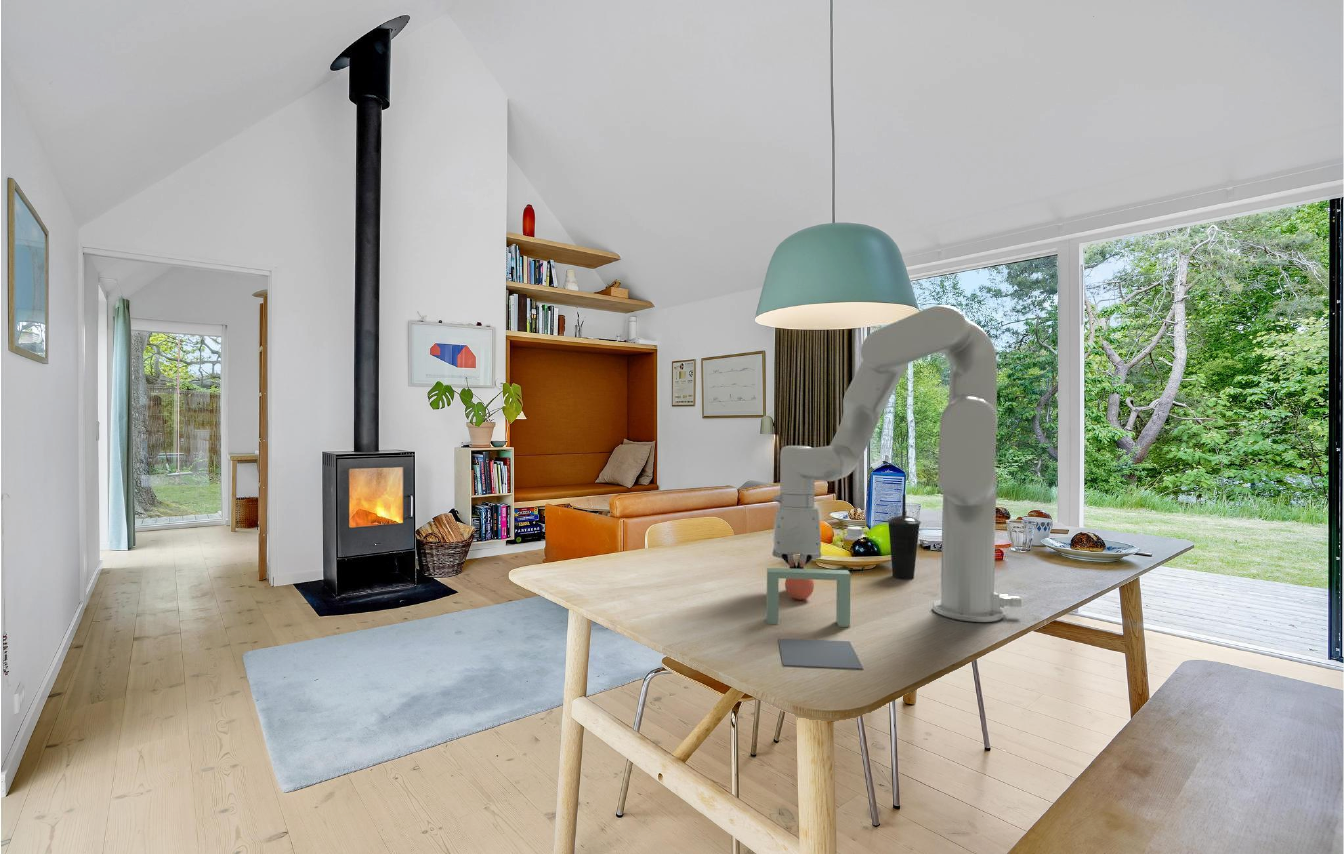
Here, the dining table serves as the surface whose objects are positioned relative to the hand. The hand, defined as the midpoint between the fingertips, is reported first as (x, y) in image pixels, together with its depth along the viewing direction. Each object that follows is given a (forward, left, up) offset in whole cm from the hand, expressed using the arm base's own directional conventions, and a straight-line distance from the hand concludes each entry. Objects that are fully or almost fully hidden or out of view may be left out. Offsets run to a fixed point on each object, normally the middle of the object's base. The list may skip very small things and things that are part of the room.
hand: (796, 583), depth 143 cm
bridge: (0, +23, -2) cm, 23 cm away
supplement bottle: (-17, -25, -2) cm, 30 cm away
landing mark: (0, +39, -2) cm, 39 cm away
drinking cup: (-27, -16, -2) cm, 31 cm away
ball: (0, +7, +2) cm, 7 cm away
